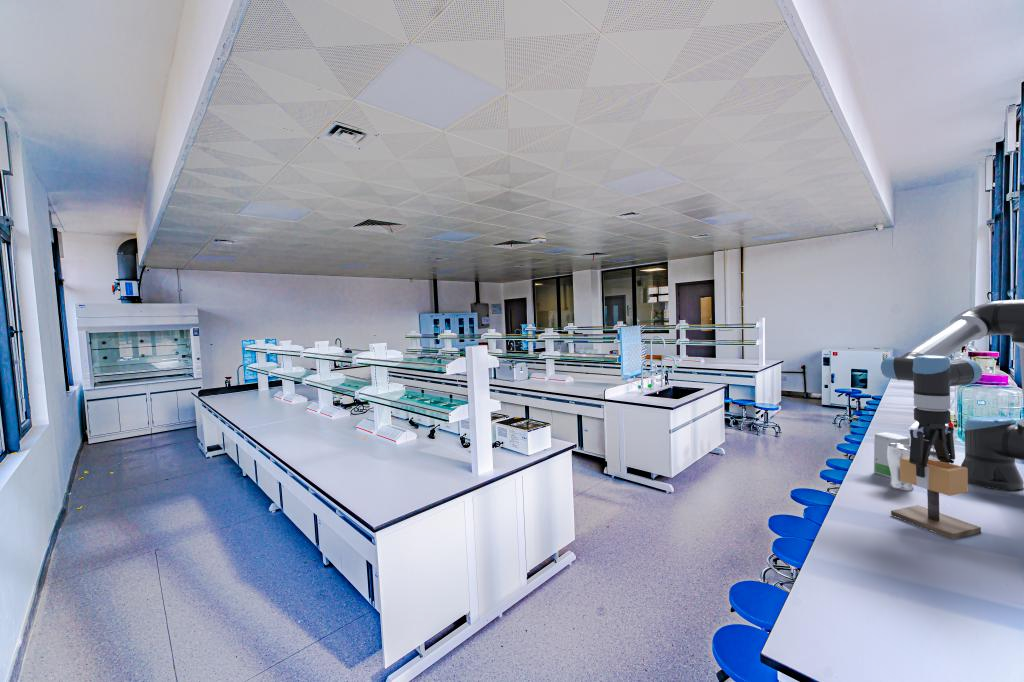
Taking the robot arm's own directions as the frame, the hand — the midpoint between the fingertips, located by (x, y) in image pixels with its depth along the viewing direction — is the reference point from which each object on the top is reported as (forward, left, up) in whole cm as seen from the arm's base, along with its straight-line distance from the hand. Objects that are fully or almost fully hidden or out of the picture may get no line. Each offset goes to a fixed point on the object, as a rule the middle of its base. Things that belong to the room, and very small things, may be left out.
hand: (932, 485), depth 121 cm
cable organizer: (-70, -44, -12) cm, 84 cm away
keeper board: (0, 0, -12) cm, 12 cm away
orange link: (0, 0, 0) cm, 0 cm away
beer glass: (-19, -21, -12) cm, 31 cm away
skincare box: (-28, -30, -12) cm, 43 cm away
